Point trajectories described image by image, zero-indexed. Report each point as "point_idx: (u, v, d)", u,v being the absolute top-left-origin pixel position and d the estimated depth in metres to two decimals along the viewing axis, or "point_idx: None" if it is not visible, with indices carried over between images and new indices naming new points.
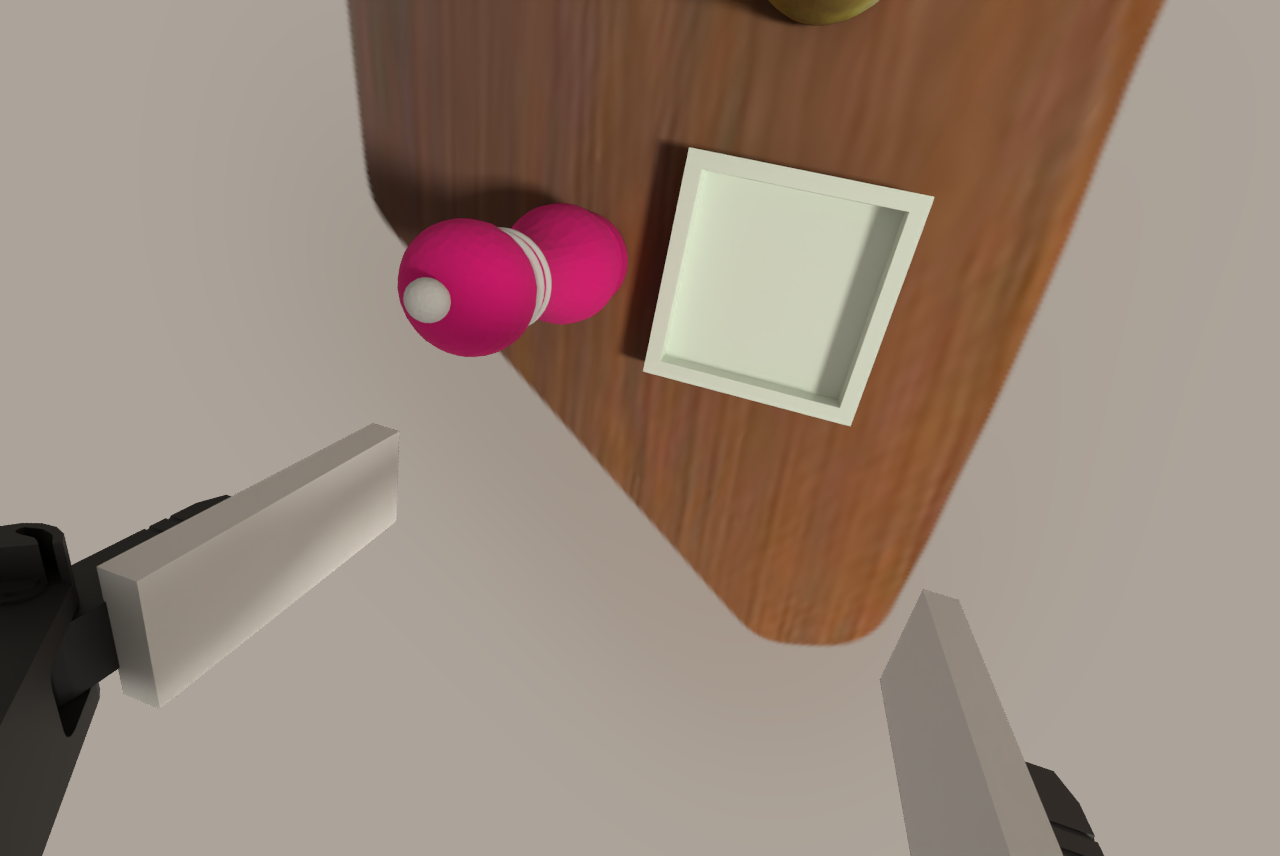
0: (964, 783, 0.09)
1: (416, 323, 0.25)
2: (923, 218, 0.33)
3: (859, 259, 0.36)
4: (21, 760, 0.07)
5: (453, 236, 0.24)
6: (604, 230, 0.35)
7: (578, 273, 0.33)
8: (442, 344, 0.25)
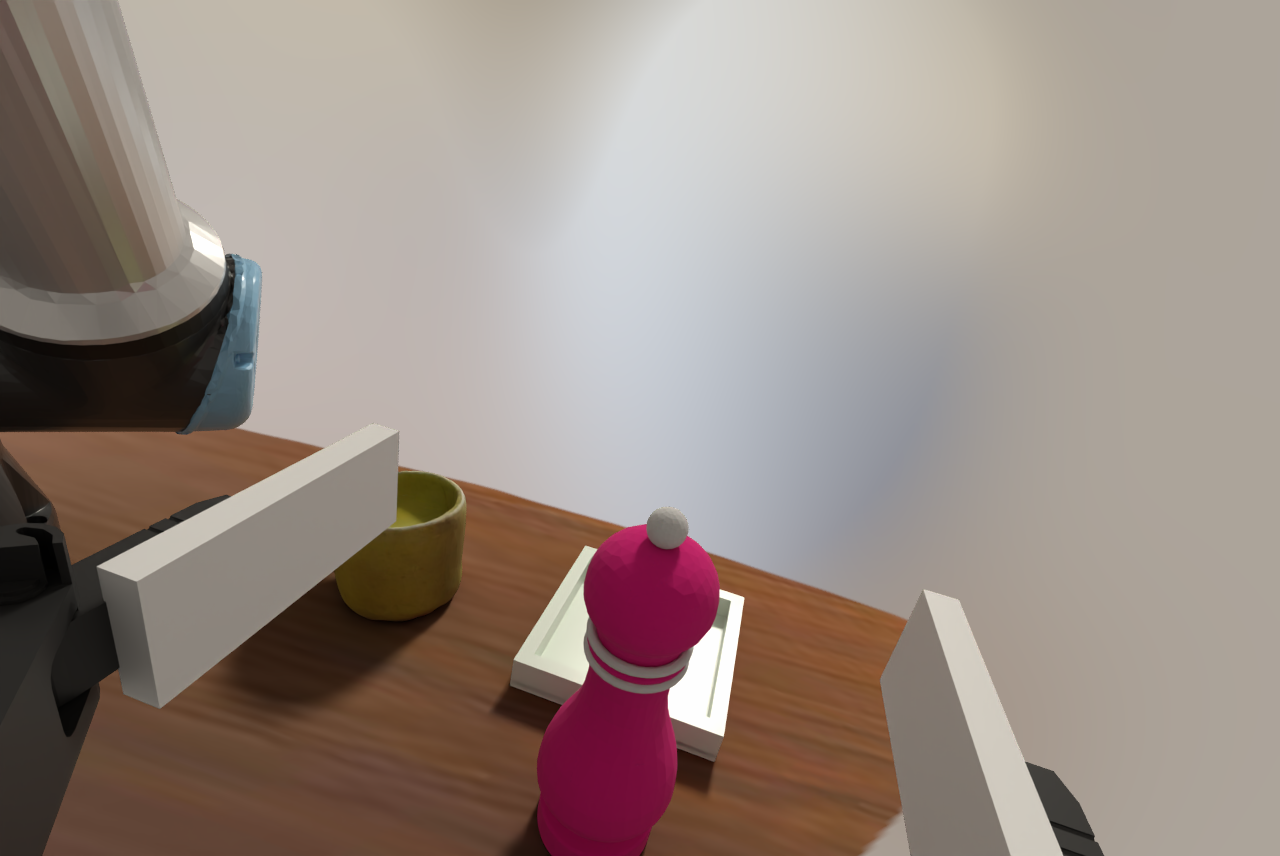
0: (964, 783, 0.09)
1: (689, 575, 0.24)
2: None
3: None
4: (21, 760, 0.07)
5: (607, 541, 0.26)
6: None
7: None
8: (708, 569, 0.25)
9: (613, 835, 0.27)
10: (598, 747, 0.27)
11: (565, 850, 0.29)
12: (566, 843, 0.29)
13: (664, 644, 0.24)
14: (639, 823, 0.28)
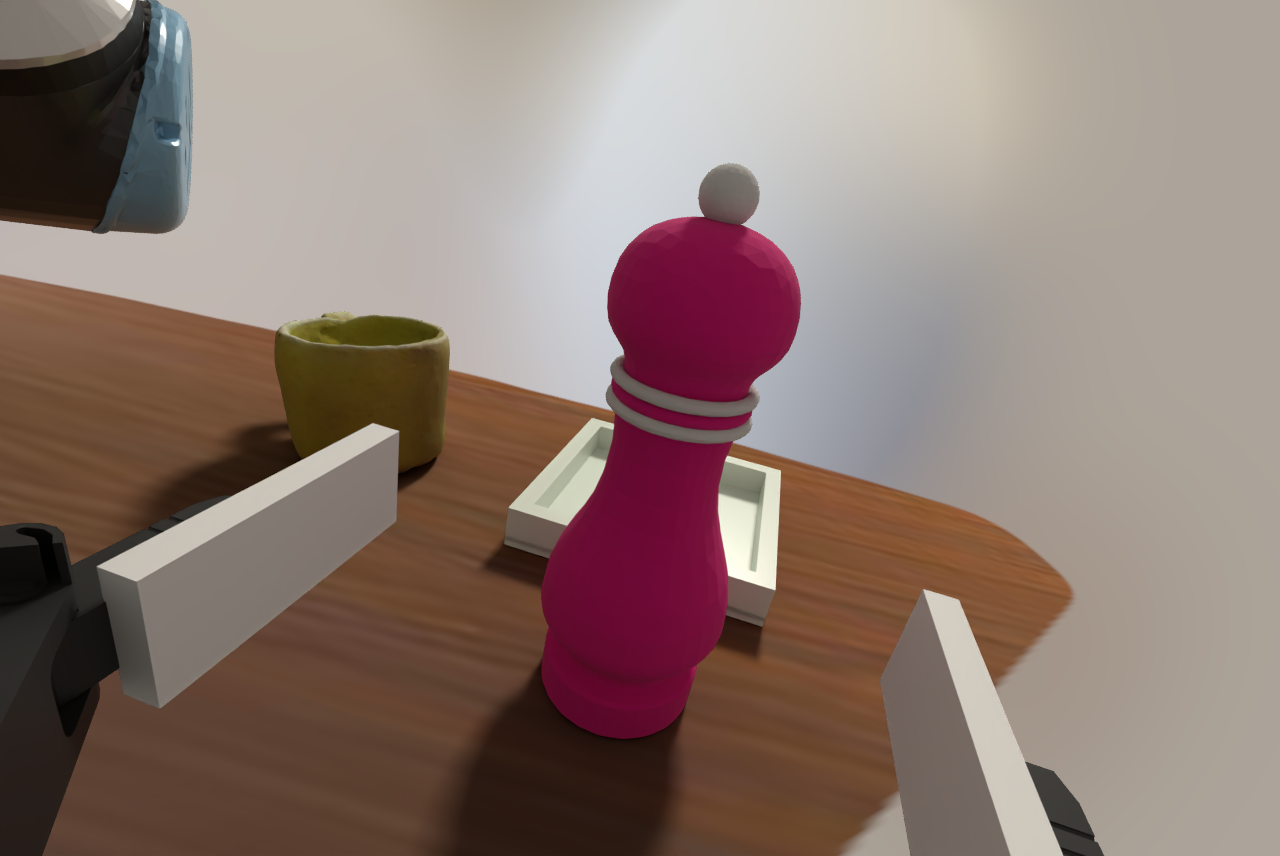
0: (964, 783, 0.09)
1: (764, 248, 0.16)
2: (607, 423, 0.43)
3: None
4: (21, 760, 0.07)
5: None
6: None
7: None
8: None
9: (649, 665, 0.20)
10: (627, 539, 0.20)
11: (580, 700, 0.22)
12: (582, 691, 0.22)
13: (730, 339, 0.16)
14: (683, 650, 0.20)
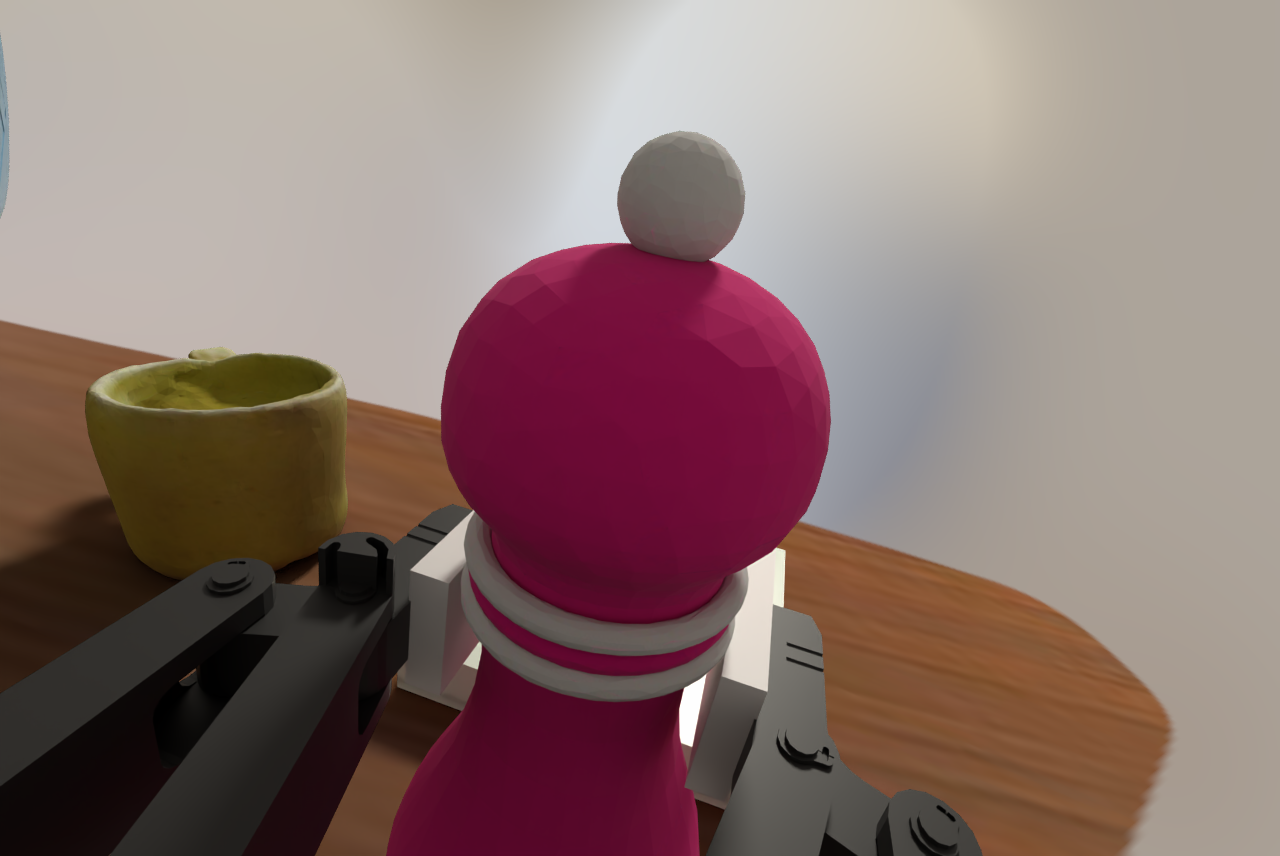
0: None
1: (754, 318, 0.07)
2: None
3: None
4: (323, 759, 0.08)
5: None
6: None
7: None
8: (803, 331, 0.08)
9: None
10: (502, 841, 0.10)
11: None
12: None
13: (675, 533, 0.07)
14: None
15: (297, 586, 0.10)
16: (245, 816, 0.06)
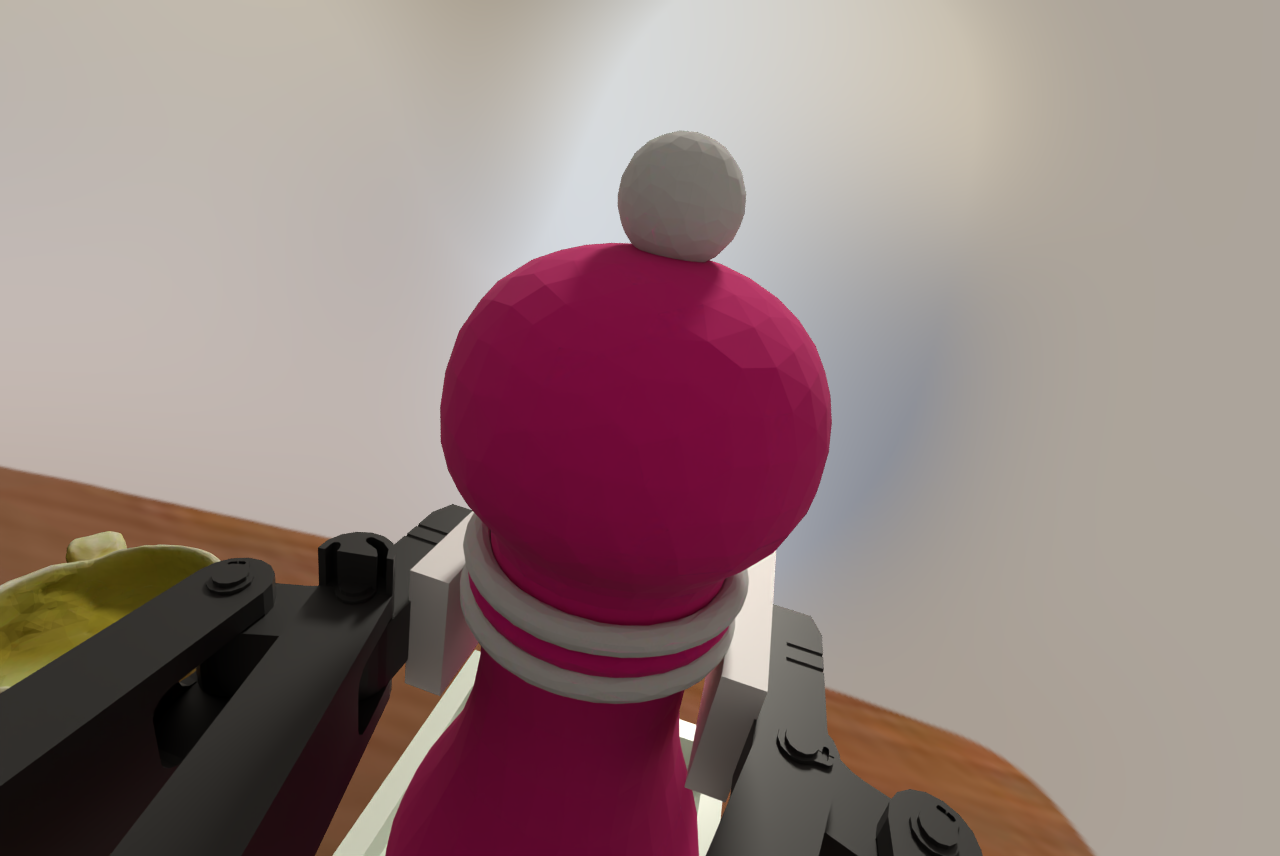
0: None
1: (754, 319, 0.07)
2: None
3: None
4: (323, 759, 0.08)
5: None
6: None
7: None
8: (804, 332, 0.08)
9: None
10: (501, 842, 0.10)
11: None
12: None
13: (675, 535, 0.07)
14: None
15: (298, 586, 0.10)
16: (245, 816, 0.06)
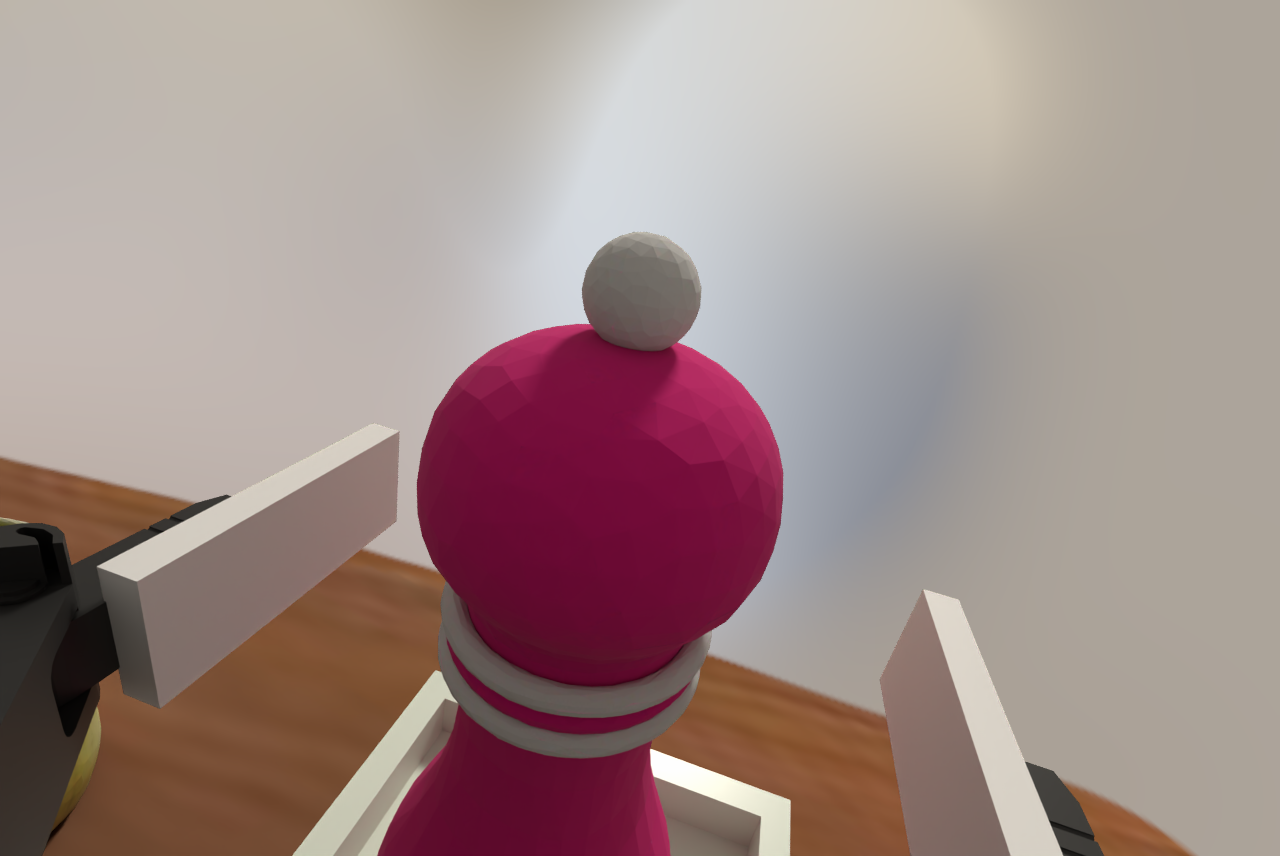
0: (964, 783, 0.09)
1: (704, 413, 0.08)
2: None
3: None
4: (21, 760, 0.07)
5: None
6: None
7: None
8: (757, 414, 0.09)
9: None
10: None
11: None
12: None
13: (628, 617, 0.08)
14: None
15: None
16: None
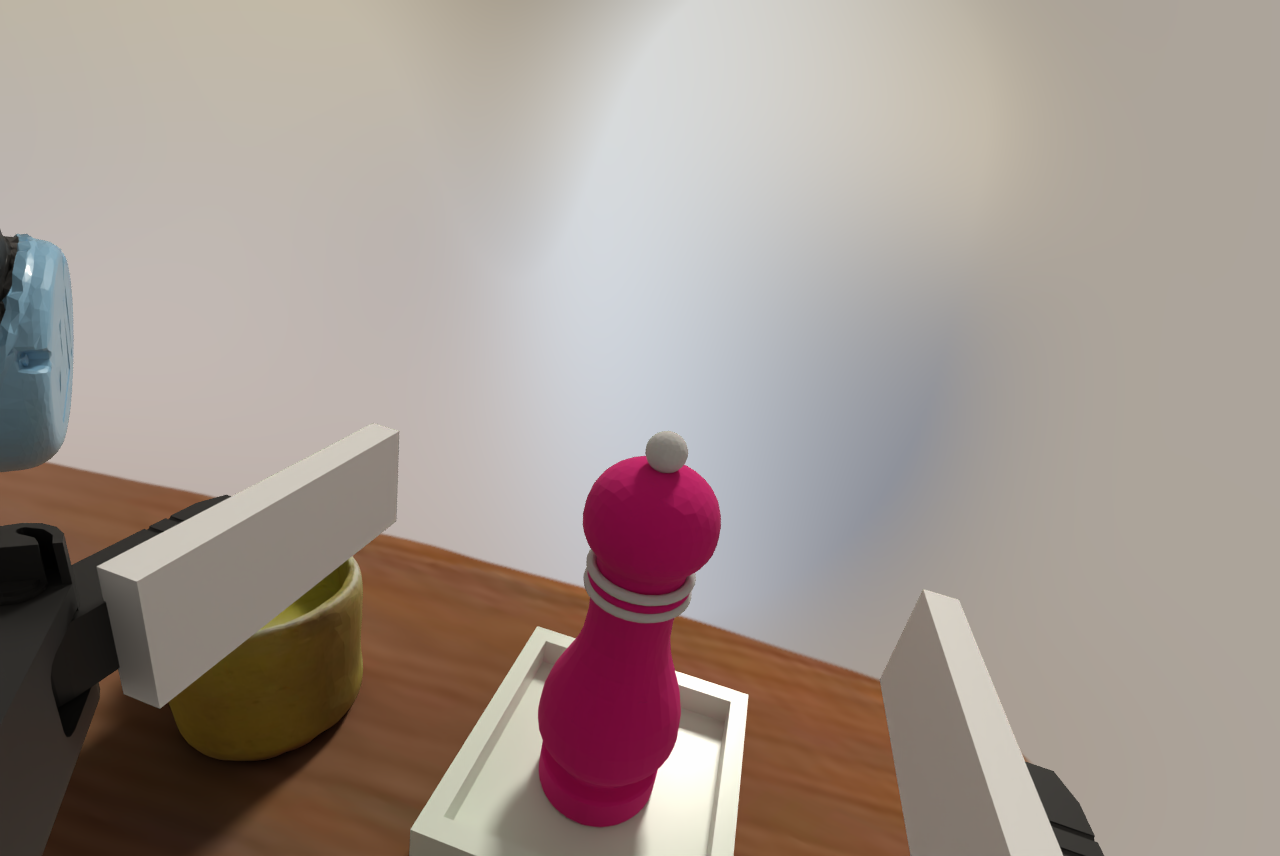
0: (964, 783, 0.09)
1: (689, 496, 0.24)
2: (553, 633, 0.38)
3: None
4: (21, 760, 0.07)
5: (606, 470, 0.26)
6: None
7: None
8: (709, 494, 0.25)
9: (617, 777, 0.27)
10: (600, 684, 0.27)
11: (568, 798, 0.29)
12: (569, 791, 0.29)
13: (665, 564, 0.23)
14: (643, 764, 0.27)
15: None
16: None
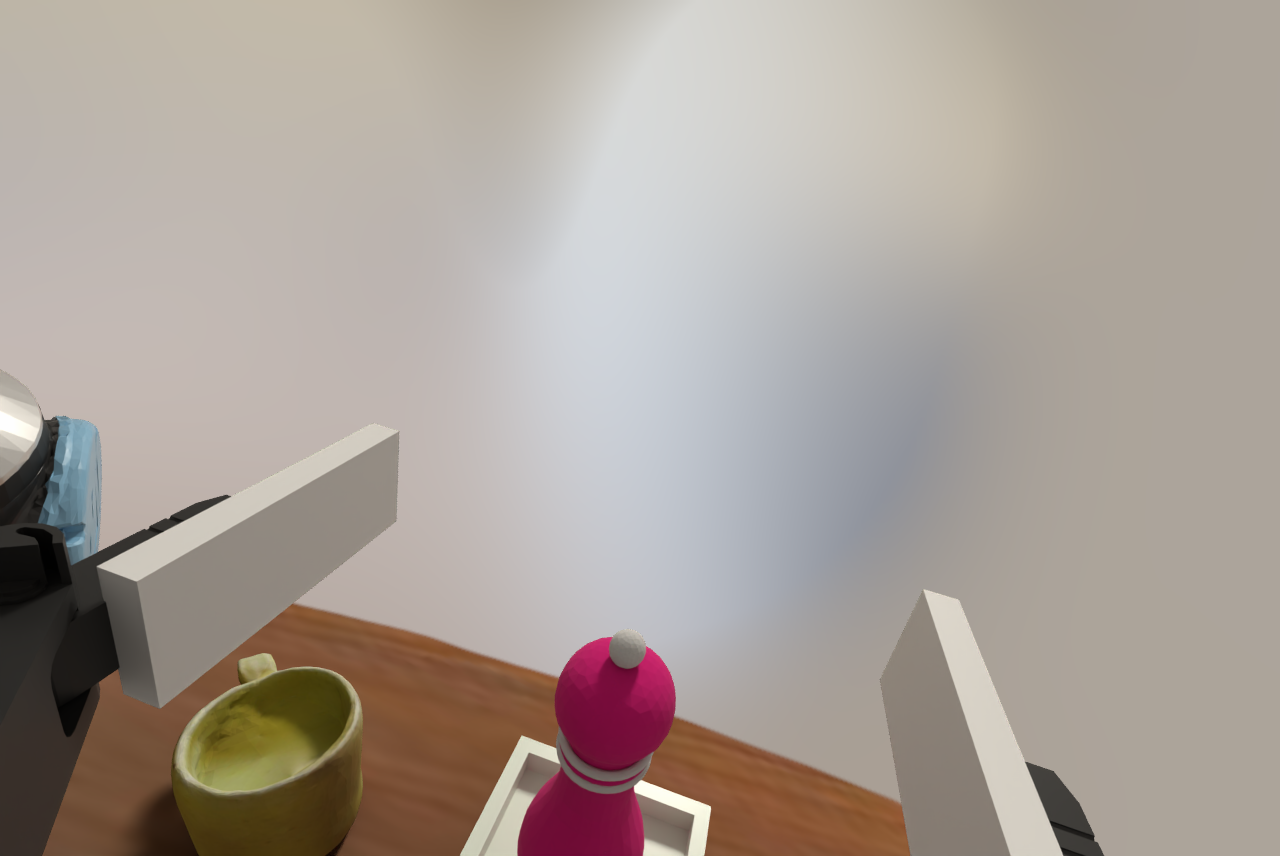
0: (964, 783, 0.09)
1: (646, 693, 0.27)
2: (536, 743, 0.42)
3: None
4: (21, 760, 0.07)
5: (576, 657, 0.29)
6: None
7: None
8: (664, 684, 0.28)
9: None
10: (570, 837, 0.30)
11: None
12: None
13: (623, 756, 0.27)
14: None
15: None
16: None
